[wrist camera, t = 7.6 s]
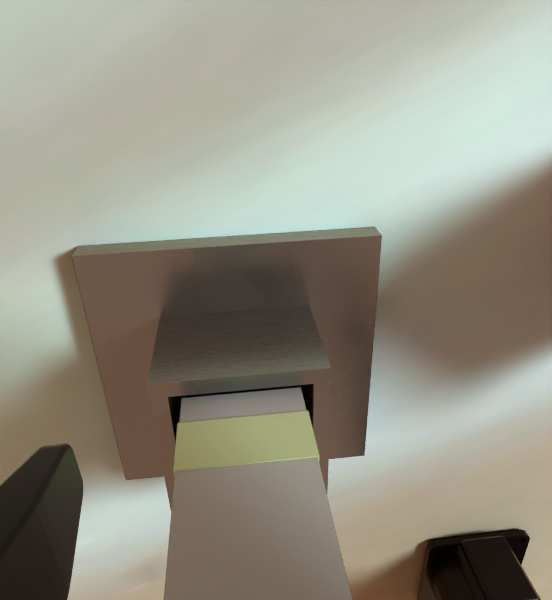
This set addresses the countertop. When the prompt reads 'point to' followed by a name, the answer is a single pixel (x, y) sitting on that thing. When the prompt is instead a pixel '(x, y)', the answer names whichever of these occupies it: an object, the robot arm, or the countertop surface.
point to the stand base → (232, 332)
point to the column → (251, 503)
